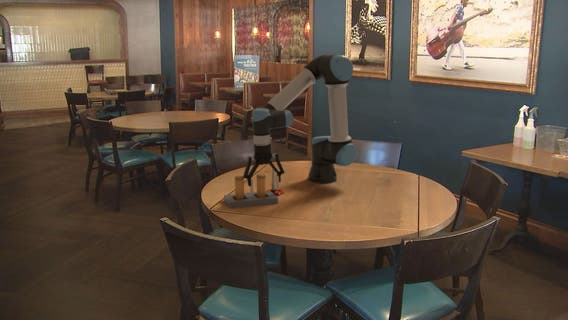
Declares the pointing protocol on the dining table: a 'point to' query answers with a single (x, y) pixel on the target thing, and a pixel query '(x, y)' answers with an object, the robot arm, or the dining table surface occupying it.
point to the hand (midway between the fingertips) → (264, 190)
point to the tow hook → (274, 186)
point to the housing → (250, 200)
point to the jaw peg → (261, 186)
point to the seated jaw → (239, 187)
